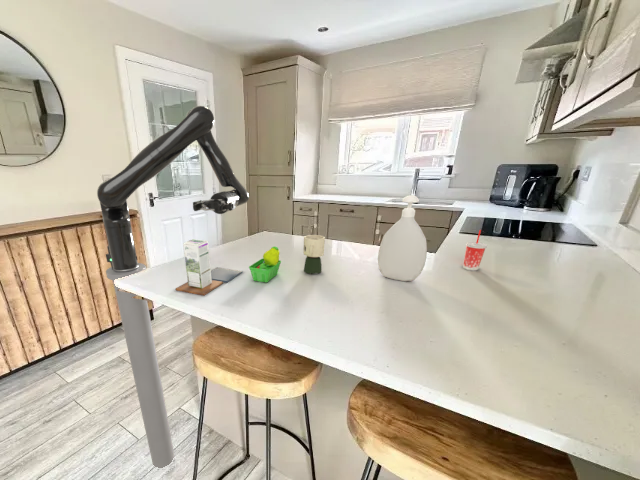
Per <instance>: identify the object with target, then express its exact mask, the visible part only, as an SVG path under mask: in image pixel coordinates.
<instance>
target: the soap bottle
mask: <svg viewBox="0 0 640 480" xmlns="http://www.w3.org/2000/svg"><path fill="white" fill-rule="evenodd" d="M401 202H402V203H407V206H406V207H404V208H403V209H402V211H401V217H400V219H399V220H397V221H396V222H395V223H394V224H393V225H392V226H391V227H390V228H389V229H388V230H387V231H386V232H385V233H384V235H383V237H382V239H381V242H380V244H379V248H378V252H377V253H378V254H377V264H378V269H379V271H380V273H381V275H382V276H383V277H384V278H386V279H391V280H395V281H401V282H412V281H415V280H416V279H417V278H418V277H419V276H420V275H421V274H422V272H423V270H424V268H425V266H426V262H427V257H428V256H427V255H428V254H427V253H428V246H427V238H426V235H425V234H424V232H423V230H422V227H421V226H420V224H419V223H418V222H417V221H416V218H415V215H416V209H415V207H413V203H420V199H419V198H418V197H417V195H415V194H414V195H413V194H409V195H406V196H404V197H403V198H402V199H401Z"/></svg>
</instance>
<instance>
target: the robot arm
mask: <svg viewBox="0 0 640 480" xmlns="http://www.w3.org/2000/svg"><path fill="white" fill-rule="evenodd" d="M214 124H215V117H214V113H213V111H212V110H211V109H210V108H209V107H207V106H204V105H196V106H194V107H192V108H191V109H189V110H188V111H187V112H186V114H185V117H184V118H183V119H182V120H181V122H179V123H178V124H177V125H176V126H175V127H173V128H172V129H170V130H168V131H167V132H165V133H163V134H161V135H160V136H158V137H157V138H155V139H154V140H152V141H151V142H150V143H149V144H148V145H145V147H144V148H142V150H140V151H139V153H137V154H136V155H135V156H134V157H133V159H132V160H131V161H130V162H129V163H128V164H127V166H125V168H123V169H122V170H121V171H120V172H118V173H117V174H115V175H114V176H112V177H111V178H110V179H109V178H108V179H107V180H105V181H103V182H101V183H100V184H99V186H98V187H97V190H96V196H97V199H98V201H99V205H100V209H101V216H102V222H103V227H104V231H105V236H106V240H107V246H106V248H107V252H108V253H105V258H106V262H107V263H109V264H110V266H111V267H112V270H113V271H115V272H129V271H133V270H136V269H137V268H138V267H139V266H138V263H139V262H138V255H137V251H136V246H135V241H134V234H133V230H132V224H131V217H130V212H129V208H128V201H127V200H128V199H130V197H131V196H132V195H133V194H134V193H135V192H136V190H137V189H139V188H140V187H141V186H143V184H146V183H147V182H149V181H150V180H151V179H153V178H155V177H156V176H157V175H159V174H161V172H162V171H164V170H165V169H166V168H167V167H168V166H170V165H171V164H172V163H173V162H174V161H175V160H176V159H178V157H179V156H180V155H181V154H182V153H183V152H184V151H185V150H186V149H187V148H188V147H189V146H190V145H192V144H193V143H195V142H197V143H198V145H199V147H200V149H201V150H202V152H203V153H204V155H205V157H206V159H207V161H208V163H209V165H210V166H211V168H212V170H213V172H214V175H215V177H216V178H217V180H218V182H219V184H220V186H221V187H222V188H228V187H230V188H233V189H230V190H225V191H220V192H219V191H218V192H215V193H214V194H212V195H211V197H210V198H209V199H205V200H201V199H200V200H197V201H193V202H192V210H193V211H194V212H198V211H205V212H206V211H212V212H213V213H215V214H218V215H224V214H225V213H227V212H232V211H233V210H235V209H236V208H237V207H239V206H241V205H244V204H246V203H248V202H249V200H250V199H249V198H250V196H249V192H248V190H247V188H245V187H244V185H243V184H242V183H241V182H240V180H239V179H238V178H237V176H236V173H235V172H234V170H233V168H232V166H231V163H230V162H229V160H228V158H227V157H226V155H225V154H224V153H223V151H222V150H221V148H220V147H219V145H218V144H217V141H216V140H215V138H214V135H213V133H212V129H213V128H214Z"/></svg>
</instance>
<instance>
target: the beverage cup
mask: <svg viewBox="0 0 640 480" xmlns="http://www.w3.org/2000/svg"><path fill="white" fill-rule="evenodd" d="M481 233H482V229H479V231H478V235H477V238H476V241H468V242H465V246H466V247H465V253H464V259H463V263H462V268H463V269H464V270H467V271H479V268H480V266H481V262H482V260H483V256H484V254H485V251H486V249H487V247H488V244H487V243H483V242H479V241H480V240H479V239H480V236H481Z"/></svg>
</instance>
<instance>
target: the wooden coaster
mask: <svg viewBox="0 0 640 480" xmlns="http://www.w3.org/2000/svg"><path fill="white" fill-rule="evenodd" d="M223 284H224V282H221V281H215V280H212V283H211V284H209V285H208V286H206V287H204V288H196V287H191V286H188V281H187V282H185V283H183V284H181V285H179V286H178V287H175V291H178V292H183V293H187V294H188V293H189V294H194V295H199V296H206V295H207V294H209V293H211V292H212V291H214V290H215V289H217V288H218V287H220V286H221V285H223Z"/></svg>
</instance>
